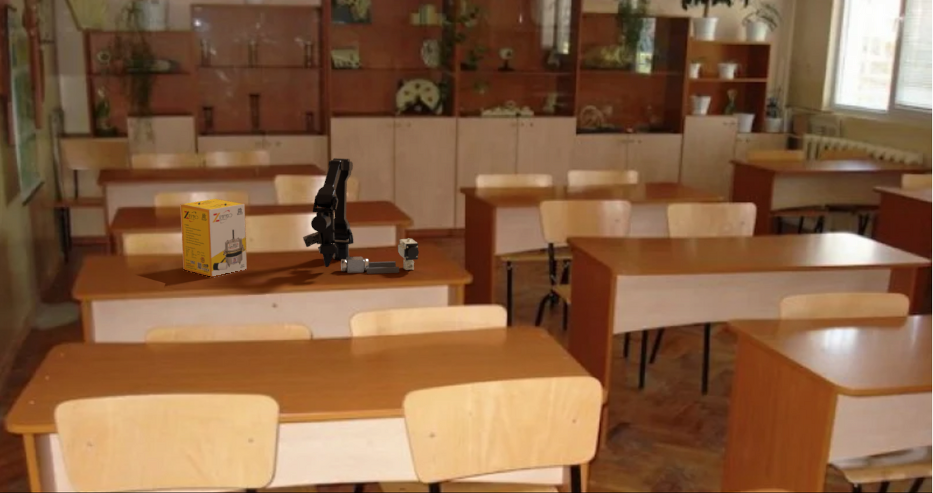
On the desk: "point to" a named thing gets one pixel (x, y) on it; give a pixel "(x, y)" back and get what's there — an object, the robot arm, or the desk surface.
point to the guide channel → (382, 267)
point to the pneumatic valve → (408, 252)
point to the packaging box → (213, 236)
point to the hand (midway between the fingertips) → (326, 267)
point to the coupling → (354, 264)
